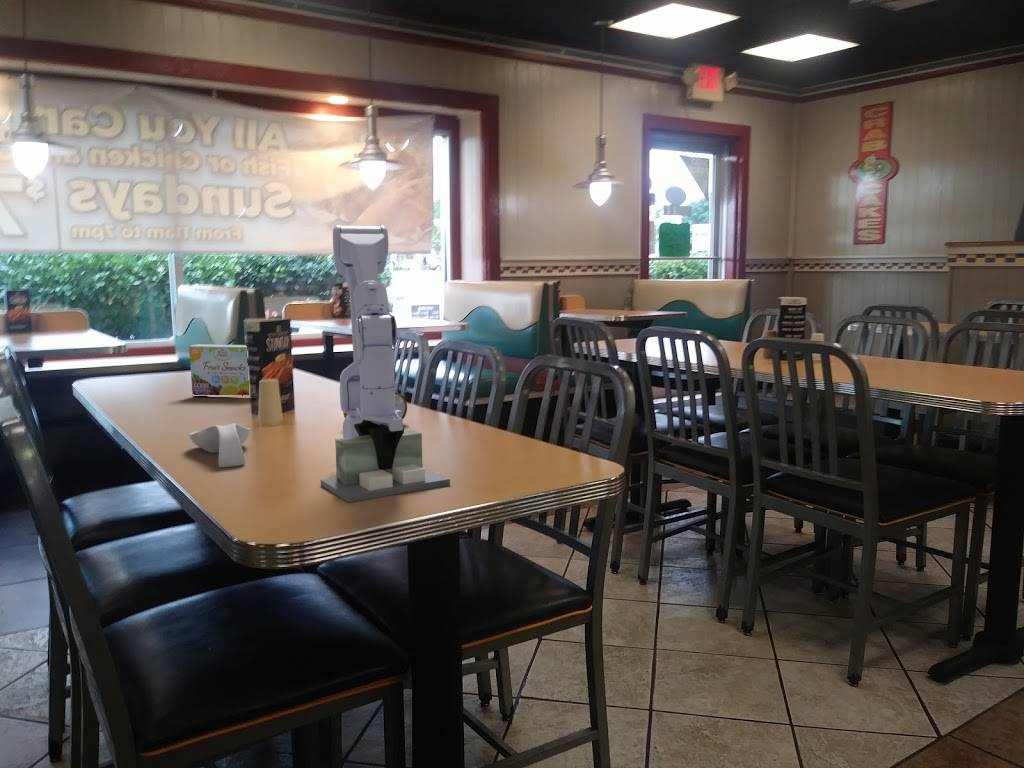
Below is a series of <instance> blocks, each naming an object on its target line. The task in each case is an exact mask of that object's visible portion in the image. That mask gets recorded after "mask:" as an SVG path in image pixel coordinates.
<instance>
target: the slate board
mask: <svg viewBox="0 0 1024 768" xmlns="http://www.w3.org/2000/svg"><path fill="white" fill-rule="evenodd" d="M423 468H424V469H425V481H421V482H415V483H409V484H401V483H399V482H397V481H395V480H393V487H389V488H383V489H377V490H371V491H369V490H367V489H366V488H364V487H362V486H360V483H359V484H353V485H347V486H346V485H344V484H342V483H341V482H339V481H337V476H335V477H331V478H330V477H329V478H324V479H320V487H322V488H324V489H326V490H327V491H329V492H331V493H332V494H334V495H336V496H337V497H339V498H340V499H342V500H344V501H345V502H347V503H352V502H358V501H364V500H371V499H376V498H381V497H388V496H394V495H398V494H405V493H406V494H407V493H410V492H416V491H421V490H427V489H433V488H439V487H446V486H450V485H451V479H450V478H449V477H446V476H444V475H442V474H439V473H437V472H435V471H433V470H431V469H428V468H425V467H423ZM392 479H393V478H392Z"/></svg>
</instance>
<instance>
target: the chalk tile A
mask: <svg viewBox="0 0 1024 768" xmlns="http://www.w3.org/2000/svg"><path fill="white" fill-rule="evenodd" d="M359 480H360V486H362V487H364V488H366V489H367V490H369V491H371V490H377V489H383V488H389V487H393V479H392V474H390V473H388V472H386V471H383V470H377V471H371V472H364V473H359Z"/></svg>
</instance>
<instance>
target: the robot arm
mask: <svg viewBox="0 0 1024 768" xmlns="http://www.w3.org/2000/svg"><path fill="white" fill-rule="evenodd" d="M332 250H333V259H334V260H333V261H334V267H335V271H336V273H337V274H339V275H341V276H342V277H344V278H345V280H346V283H347V286H348V289H349V290H348V291H349V306H350V307H349V308H350V322H351V335H352V336H351V338H352V339H351V340H352V355H353V356H352V357H353V362H352V363H350V364H348V366H347V367H346V368H344V369H343V370H342V371H341V374H340V375H339V399H340V400H339V402H340V403H339V404H340V409H341V411H342V412H344V413H347V414H348V415H347V417H346V418H344V420H343V423H342V438H349V437H356V436H364V435H371V437H372V439H373V442H374V445H375V449H376V456H377V463H378V467H379V470H387V469H392V466H393V462H394V457H395V453H396V449H397V446H398V443H399V441H400V439H401V437H402V435H403V433H404V430H405V428H404V423H403V421H404V419H402V418H400V417H399V416H398V415H402V411H400V410H395V391H396V385H395V382H396V381H395V354H394V353H395V352H394V351H395V350H394V349H396V347H397V341H398V328H397V327H398V326H397V321H396V317H395V314H394V313H393V310H392V309H390V303H389V297H388V293H387V288H386V287H385V285H384V284H383V283H382V282H379V275H381V274H383V273H384V272H385V268H386V266H387V260H388V255H389V232H388V229H387V227H386V226H385V225H380V226H379V225H376V226H375V225H339V224H335V226H334V227H333V228H332ZM392 347H393V348H392Z"/></svg>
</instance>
